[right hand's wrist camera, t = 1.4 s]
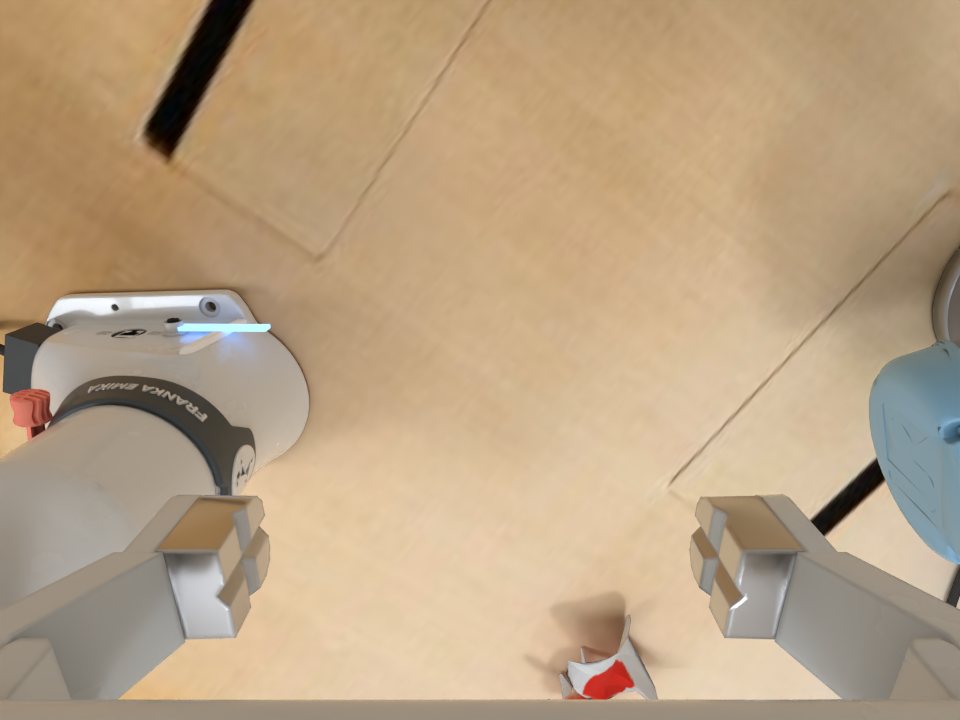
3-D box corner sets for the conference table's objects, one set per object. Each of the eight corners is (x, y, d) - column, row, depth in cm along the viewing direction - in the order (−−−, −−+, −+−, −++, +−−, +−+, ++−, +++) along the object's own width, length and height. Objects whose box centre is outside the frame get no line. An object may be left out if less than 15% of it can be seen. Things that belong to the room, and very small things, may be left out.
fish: (488, 710, 55) (550, 797, 47) (574, 573, 57) (647, 634, 49) (552, 731, 61) (617, 812, 52) (627, 606, 63) (701, 665, 55)
